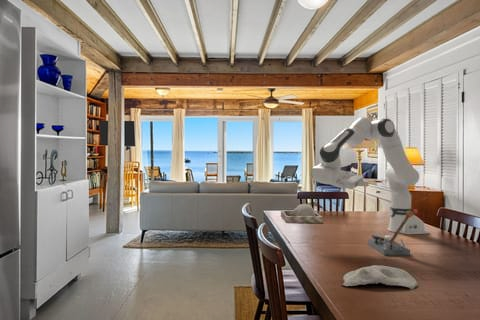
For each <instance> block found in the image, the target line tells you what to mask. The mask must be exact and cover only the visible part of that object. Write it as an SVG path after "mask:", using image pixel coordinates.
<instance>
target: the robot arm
mask: <svg viewBox="0 0 480 320" xmlns="http://www.w3.org/2000/svg"><path fill="white" fill-rule="evenodd" d="M373 140H374V141H376V140H379V141H380V145H381V148H382V151H383V153H384V157H385V160H386V162H387V163H389V165H390V166H391V167H389V168H388V169H387V170H386V171H385V179H386V180H387V182H388V186H389V189H390V195H391V196H390V198H391V200H390V201H391V203H390V204H391V205H390V209H389V216H390V219H389V224H388V228H387V230H388V231H389V232H392V233H396V231H397V229H398V228H399V226H400V225H401V223H402V222H403V220H404V219H405V217H406V212H407V211H412V212H413V216H412V217H410V218H408V220H407V221H406V223H405V224H404V226H403V227H402V229H401V230H400V232H399V234H404V235H422V234H423V235H427V234H429V233H430V232H429V230H428V229H425V223H424V221H423V220H421V219H420V218H419V217H418V216H416V215H415V214H418V210H417V209H413V208H412V193H411V192H410V190H409V186H414V185H416V184H417V183H418V182H419V180H420V173H419V172H418V170H417V169H415V167H414V166H413V165H412V163H411V162H410V160H409V159H408V157H407V155H406V154H407V153H405V149H404V146H403V144H402V143H403V142H402V140H401V138H400V135H399V133H398V132H397V130H396V128H395V124H394V122H393V121H392V120H391V119H390V118H381V119H375V120H373V121H371V119H369V118H368V117H365V116H362V117H359V118H358V119H356V120H355V121H353V123H352V124H351V125H350V126H349V127H347V128H345V129H343V130H342V131H341V132H339V133H338V134H337V135H336V136H335V137H334V138H333V139H332V140H330V141H329V142H328V143H326V144H324V145H323V146H322V147H321V148H320V149H319V156H320V158H321V162H320V163H319V164H318V165H315V166H313V167H312V168H311V173H310V174H311V178H312V180H313V181H315V182H317V183H320V184H324V185H330V186H332V187H336V188H341V189H343V188H345V189H348V190H354V189H355V188H357V187H363V188H364V187H366V188H367V187H368V186H369V184H370V183H369V182H367V181H364V180H365V179H364V178H365V177H364V176H363V175H360V174H356V173H353V172H350V171H349V170H342V161H341V155H340V153H341V149H342V148H343V146H345V145H346V144H347V145H349V146H350V147H351V146H352V147H357V146H360V145H361V144H362V143H363V142H364V141H373Z"/></svg>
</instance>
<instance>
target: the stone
mask: <svg viewBox="0 0 480 320" xmlns="http://www.w3.org/2000/svg"><path fill="white" fill-rule="evenodd" d="M342 277H343V278H342V279H343V281H344V283H343V284H342V286H345V287H349V286H350V287H354V286H359V285H367V284H369V285H370V284H377V285H378V284H379V283H381V284H382V285H385V286H399V287H400V286H401V287H406V288H409V289H410V290H413V289H415V288H416V287H418V286H419V283H418V282H417V281H416V278H415V277H413V276H412V275H411V274H410V273H409V272H408V271H406V270H404V269H402V268H397V267H394V266H393V267H392V266H385V265H376V264H375V265H374V264H373V265H370V266H365V267H361V268H357V269H356V270H352V271H349V272H347V273H346V274H344V275H343V276H342Z"/></svg>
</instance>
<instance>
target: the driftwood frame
mask: <svg viewBox="0 0 480 320" xmlns="http://www.w3.org/2000/svg"><path fill="white" fill-rule="evenodd" d="M314 212H315V214H316V216H294V211H293V210H280V217H281V219H282V220H283V221H284V222H285V223H295V224H296V223H298V224H299V223H300V224H301V223H303V224H304V223H306V224H307V223H310V224H312V223H315V224H319V223H320V224H321V223H322V224H323V216H322V215H320V214H319V213H318V212H316V211H315V210H314Z"/></svg>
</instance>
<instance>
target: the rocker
mask: <svg viewBox="0 0 480 320" xmlns="http://www.w3.org/2000/svg"><path fill="white" fill-rule="evenodd" d="M371 239H377V240H378V239H381V241H384V239H385V237H383V236H379V235H375V234H371Z"/></svg>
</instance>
